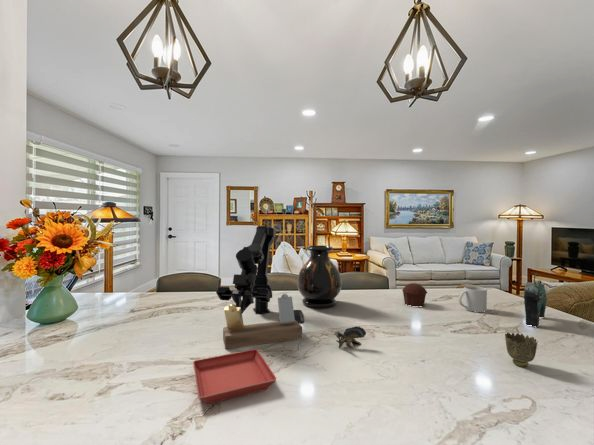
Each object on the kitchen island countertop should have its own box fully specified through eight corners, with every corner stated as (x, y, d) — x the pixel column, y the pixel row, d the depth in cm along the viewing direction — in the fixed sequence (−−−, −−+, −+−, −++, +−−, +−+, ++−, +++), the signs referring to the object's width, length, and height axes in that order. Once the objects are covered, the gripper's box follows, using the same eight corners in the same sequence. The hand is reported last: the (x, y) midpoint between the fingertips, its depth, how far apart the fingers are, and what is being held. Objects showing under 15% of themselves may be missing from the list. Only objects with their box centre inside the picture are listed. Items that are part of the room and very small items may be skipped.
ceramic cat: (539, 330, 111) (540, 277, 110) (518, 325, 116) (519, 274, 115) (549, 318, 124) (550, 271, 124) (530, 314, 129) (530, 269, 128)
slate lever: (279, 323, 104) (276, 294, 108) (293, 321, 106) (289, 293, 110) (281, 322, 102) (278, 293, 106) (295, 320, 104) (291, 292, 108)
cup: (539, 374, 79) (539, 344, 79) (505, 367, 83) (506, 338, 83) (534, 363, 85) (535, 335, 85) (503, 356, 89) (504, 330, 89)
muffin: (400, 300, 150) (400, 281, 149) (422, 301, 148) (423, 281, 148) (405, 307, 138) (405, 286, 138) (430, 308, 136) (430, 287, 136)
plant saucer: (198, 412, 63) (198, 397, 63) (192, 372, 80) (192, 360, 80) (277, 392, 70) (277, 379, 70) (257, 359, 87) (257, 348, 87)
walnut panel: (223, 339, 101) (223, 327, 101) (294, 330, 109) (294, 319, 109) (225, 348, 93) (225, 336, 93) (302, 338, 102) (302, 327, 101)
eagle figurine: (351, 351, 89) (371, 339, 94) (339, 329, 92) (359, 318, 97) (338, 356, 95) (357, 344, 100) (328, 335, 98) (347, 324, 102)
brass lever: (230, 325, 99) (225, 302, 95) (244, 326, 98) (240, 302, 94) (227, 330, 97) (222, 307, 93) (242, 331, 96) (238, 308, 92)
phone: (301, 309, 131) (303, 321, 116) (301, 312, 131) (303, 324, 116) (283, 309, 131) (284, 321, 116) (283, 312, 131) (284, 324, 116)
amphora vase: (344, 311, 132) (345, 249, 131) (296, 310, 132) (297, 248, 132) (338, 298, 153) (338, 244, 153) (297, 297, 154) (297, 244, 153)
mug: (486, 308, 136) (486, 287, 136) (486, 314, 128) (486, 291, 128) (459, 305, 142) (460, 284, 142) (458, 310, 134) (458, 288, 134)
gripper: (218, 264, 106) (204, 303, 95) (268, 265, 103) (260, 306, 92) (226, 280, 114) (214, 319, 103) (273, 282, 111) (266, 322, 100)
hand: (238, 316), depth 100 cm, fingers closed
